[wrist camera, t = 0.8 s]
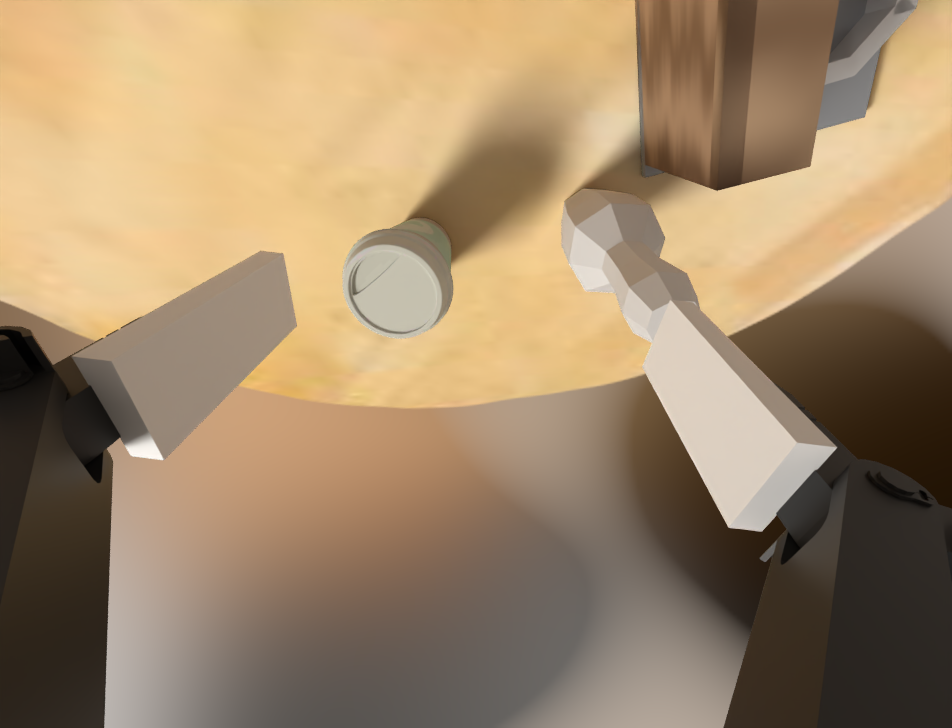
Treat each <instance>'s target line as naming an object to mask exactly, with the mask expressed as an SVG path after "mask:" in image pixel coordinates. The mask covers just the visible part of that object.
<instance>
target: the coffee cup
mask: <svg viewBox="0 0 952 728" xmlns="http://www.w3.org/2000/svg"><path fill="white" fill-rule="evenodd" d="M343 293H344V297H345V300H346V302H347V305H348V307H349V308H350V310H351V312H352V313H353V315H354V316H355V317H356V318H357V319H358V320H359V321H360V322H361V323H362V324H363V325H364V326H365V327H367V328H368V329H370V330H371V331H373V332H375V333H377V334H380V335H382V336H386V337H390V338H410V337H414V336H417V335H419V334H421V333H423V332H426V331H428V330H429V329H431V328H433V327H434V326H435V325H436V324H437V323H438V322H439V321H440V320H441V319H442V318H443V317H444V315H445V314H446V312H447V311H448V309H449V307H450V304H451V301H452V296H453V280H452V276H451V242H450V239H449V236H448V235H447V233H446V231H445V230H444V229H443V228H442V227H441V226H440V225H439V224H438V223H436V222H435V221H433V220H430V219H427V218H413V219H410V220H408V221H405V222H403V223H401V224H399V225H397V226H394V227H392V228H390V229H382V230H378V231H374V232H372V233H369V234H367V235H366V236H364V237H362V238H361V239H360V240H359V241H358V242H357V243H356V244H355V245H354V246H353V247H352V249H351V250H350V252H349V254H348V256H347V258H346V261H345V264H344V268H343Z"/></svg>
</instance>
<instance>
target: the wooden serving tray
mask: <svg viewBox="0 0 952 728" xmlns="http://www.w3.org/2000/svg"><path fill="white" fill-rule="evenodd" d="M637 2H638V3H639V5H637V4H638V3H637ZM838 5H839V0H638V1H637V0H635V9H636V35H637V36H638V29H637V28H638V25H637V24H638V20H639V19H638V16H639V14H640V16H639V17H640V20H639V21H640V22H639V23H640V24H639V25H640V26H639V27H640V32H639V33H640V34H641V36H640V37H641V38H640V37H639V38H640V39H641V41H640V42H641V43H639V42H638V37H637V43H639V44H641V46H640V47H641V50H639V51H641V52H640V53H641V54H640V55H638V54H639V51H638V48H639V47H638V46H639V45H638V44H637V60H638V56H641V61H642V63H641V64H642V69H641V66H640V67H639V65H638V68H640V69H641V70H642V78H641V80H642V83H641V84H642V87H641V88H642V90H643V94H642V96H643V118H644V147H645V165H647V166H650V167H652V168H655V169H658V170H661V171H664V172H666V173H669V174H672V175H675V176H678V177H681V178H683V179H686V180H689V181H692V182H695V183H697V184H700V185H703V186H706V187H709V188H711V189H714V190H717V191H718V190H722V189H725V188H729V187H733V186H737V185H741V184H745V183H749V182H752V181H756V180H760V179H764V178H768V177H772V176H776V175H779V174H783V173H787V172H791V171H795V170H799V169H802V168H806V167H810V165H811V159H812V154H813V148H814V142H815V137H816V131H817V125H818V119H819V114H820V108H821V102H822V96H823V91H824V85H825V79H826V73H827V68H828V62H829V56H830V50H831V45H832V39H833V33H834V28H835V22H836V16H837V10H838ZM639 7H640V8H639ZM637 8H638V9H640V10H639V14H638V10H637ZM640 39H639V40H640ZM638 62H639V61H638ZM641 70H640V71H641ZM640 73H641V72H640ZM638 74H639V71H638ZM638 78H639V75H638ZM638 86H639V79H638ZM639 98H640V97H639ZM639 106H640V105H639Z"/></svg>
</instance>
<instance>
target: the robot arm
mask: <svg viewBox="0 0 952 728" xmlns="http://www.w3.org/2000/svg"><path fill="white" fill-rule="evenodd" d="M296 326H297V323H296V318H295V313H294V308H293V302H292V297H291V292H290V286H289V281H288V276H287V271H286V265H285V260H284V255H283V254H282V253H274V252H266V251H260V252H258V253H256V254H254V255H252V256H251V257H249V258H247V259H245V260H244V261H242V262H240V263H238V264H236V265H235V266H233V267H231V268H229V269H227V270H226V271H224V272H222V273H220V274H218V275H217V276H215V277H213V278H211V279H209V280H208V281H206V282H204V283H202V284H200V285H199V286H197V287H195V288H193V289H191V290H190V291H188V292H186V293H184V294H182V295H181V296H179V297H177V298H175V299H173V300H172V301H170V302H168V303H166V304H164V305H163V306H161V307H159V308H157V309H155V310H154V311H152V312H150V313H148V314H146V315H145V316H142V317H139V318H137V319H136V320H134V321H132V322H130V323H128V324H126V325H125V326H123V327H121V329H120V330H116V331H114V332H112V333H110V334H108V335H107V336H106V337H105V338H101V339H99V340H98V341H96V342H94V343H92V344H90V345H89V346H87V347H85V348H84V349H81V350H80V351H78V352H76V353H74V354H72V355H70V356H69V357H67V358H65V359H63V360H62V361H60V362H58V363H56V364H55V365H52V363H51V361H50V360H49V358H48V357H47V355H46V354H45V352H44V350H43V349H42V347H41V346H40V344H39V343H38V341H37V340H36V338H35V337H34V335H33V333H32V332H31V331H30V330H29V329H26V328H23V327H15V326H14V327H13V326H1V327H0V728H104V715H105V685H106V656H107V624H108V596H109V594H108V593H109V566H110V535H111V534H110V533H111V506H112V505H111V504H112V476H113V460H112V457H111V455H110V453H109V452H108V450H107V447H109V446H110V445H111V444H113V443H114V442H115V441H116V440H117V439H119V438H121V440H122V442H123V443H124V445H125V447H126V448H127V450H128V452H129V453H130V455H131V456H134V457H142V458H150V459H159V460H165V459H166V458H167V456H168V455H170V454H171V452H173V451H174V449H175V448H176V447H177V446H179V444H180V443H181V442H182V441H183V440H184V439H185V438H186V437H187V436H188V435H189V434H190V433H191V432H192V431H193V430H194V429H195V428H196V427H197V426H198V425H199V424H200V423H201V422H202V421H203V420H204V419H205V418H206V417H207V416H208V415H209V414H210V413H211V412H212V411H213V410H214V409H215V408H216V407H217V406H218V405H219V404H220V403H221V402H222V401H223V400H224V399H225V398H226V397H227V396H228V395H229V394H230V393H231V392H232V391H233V390H234V389H235V388H236V387H237V386H238V385H239V384H240V383H241V382H242V381H243V380H244V379H245V378H246V377H247V376H248V375H249V374H250V373H251V372H252V371H253V370H254V369H255V368H256V367H257V366H258V365H259V364H260V363H261V362H262V361H263V360H264V359H265V358H266V357H267V356H268V355H269V354H270V353H271V352H272V350H273V349H274V348H275V347H276V346H277V345H278V344H279V343H280V342H281V341H282V340H283V339H284V338H285V337H286V336H287V335H288V334H289V333H290V332H291V331H292V330H293V329H294V328H295V327H296ZM642 367H643V369H644V371H645V373H646V375H647V377H648V379H649V380H650V382H651V384H652V386H653V388H654V389H655V392H656V393H657V395H658V397H659V399H660V401H661V403H662V404H663V406H664V408H665V410H666V412H667V414H668V416H669V418H670V419H671V421H672V423H673V425H674V427H675V429H676V430H677V432H678V434H679V436H680V438H681V440H682V442H683V444H684V445H685V447H686V449H687V451H688V453H689V455H690V457H691V458H692V460H693V462H694V464H695V466H696V468H697V469H698V471H699V473H700V475H701V477H702V479H703V481H704V483H705V484H706V486H707V488H708V490H709V492H710V494H711V495H712V497H713V499H714V501H715V503H716V505H717V506H718V508H719V510H720V512H721V514H722V516H723V518H724V520H725V521H726V523H727V525H728V527H729V528H737V529H746V530H754V531H763V529H764V528H765V527H766V526H767V525H768V524H769V523H770V522H771V521H772V520H773V518H774V517H775V516H776V515H778V517H779V518H780V520H781V522H782V523H783V524H784V526H785V527H786V529H787V530H786V531H785V532H784V533H783V534H782V535H781V536H780V537H779V538H778V539H777V540H776V541H775V542H774V543H773V545H771V547H770V548H769V549H768V550H767V551H766V552H765V553H764V554H763V555H762V556H761V558H760V559H761V560H763V561H764V562H766V561H767V560H768V558H770V557H772V561H771V564H770V568H769V571H768V575H767V578H766V582H765V585H764V589H763V592H762V596H761V599H760V603H759V606H758V610H757V613H756V617H755V620H754V623H753V627H752V631H751V634H750V637H749V641H748V645H747V648H746V651H745V655H744V658H743V662H742V665H741V669H740V672H739V676H738V679H737V683H736V686H735V690H734V693H733V696H732V700H731V704H730V707H729V710H728V714H727V717H726V721H725V725H724V728H952V509H950V508H947V507H944V506H941V505H938V503H937V501H936V499H935V498H934V497H933V496H932V495H931V494H930V493H929V492H928V491H927V490H926V489H925V488H924V487H923V486H921V485H920V484H918V483H917V482H915V481H914V480H913V479H911V478H910V477H908V476H907V475H905V474H903V473H901V472H899V471H897V470H895V469H893V468H891V467H888V466H886V465H883V464H880V463H878V462H874V461H869V460H864V459H861V460H858V459H857V458H856V457H855V456H854V455H853V454H852V453H851V452H850V451H848V449H847V448H846V447H845V446H844V445H843V444H842V443H840V442H839V441H838V440H837V439H836V438H835V437H834V436H833V435H832V434H831V433H830V432H829V431H828V430H827V429H826V428H825V427H824V426H823V425H822V424H821V423H820V422H816V418H815V417H814V416H813V415H812V414H811V413H810V412H809V411H808V410H805V407H804V406H803V405H802V404H801V403H800V402H799V401H798V400H797V399H796V398H795V397H794V396H793V395H792V394H790V393H789V392H787V391H786V390H784V389H783V388H781V387H779V386H778V385H776V384H775V383H773V382H772V381H771V380H770V379H769V378H768V377H767V376H765V374H764V373H763V372H762V371H761V370H760V369H758V367H757V366H756V365H755V364H754V363H753V362H752V361H751V360H750V359H749V358H748V357H747V356H746V355H745V354H744V353H743V352H742V351H741V350H740V349H739V348H738V347H737V346H736V345H735V344H734V343H733V342H732V341H731V340H730V339H729V338H728V337H727V336H726V335H725V334H724V333H723V332H722V331H721V330H720V329H719V328H718V327H717V326H716V325H715V324H714V323H713V322H712V321H711V320H710V319H709V318H708V317H707V316H706V315H705V314H704V313H703V312H702V311H701V310H700V309H699V308H698V307H697V306H696V305H695V304H694V303H693V302H687V301H678V300H670V301H669V304H668V306H667V309H666V311H665V313H664V316H663V318H662V321H661V323H660V325H659V328H658V330H657V333H656V335H655V337H654V340H653V342H652V344H651V347H650V349H649V352H648V354H647V356H646V359H645V361H644V364H643V366H642Z"/></svg>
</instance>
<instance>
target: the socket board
mask: <svg viewBox="0 0 952 728" xmlns="http://www.w3.org/2000/svg"><path fill="white" fill-rule="evenodd" d="M637 1H638V0H637ZM637 3H638V2H637ZM917 3H918V0H839V5H838V10H837V16H836V22H835V28H834V33H833V39H832V45H831V50H830V56H829V62H828V68H827V73H826V79H825V85H824V91H823V96H822V102H821V108H820V114H819V119H818V125H817V130H820V129H823V128H827V127H831V126H834V125H838V124H842V123H845V122H849V121H852V120H856V119H860V118H863V117H865V114H866V110H867V106H868V101H869V97H870V93H871V88H872V84H873V80H874V75H875V71H876V66H877V62H878V58H879V53H880V49H881V46H882V45H883V44H884V43H885V42H886V41H887V40H888V38H889V37H890V36H891V35H892V34H893V33H894V32H895V31H896V30H897V29H898V28H899V26H900V25H901V24H902V23H903V22H904V21H905V20H906V19H907V18H908V17H909V15H910V14H911V13H912V12H913V11H914V10H915V9H916V7H917ZM637 5H639V3H638V4H637ZM639 8H640V7H639ZM637 10H638V14H639V10H640V9H638V8H637ZM639 16H640V14H639ZM639 16H638V19H639V20H640V17H639ZM639 20H638V24H637V25H638V28H637V29H638V36H637V37H638V42H639V43H641V42H640V41H641V39H640V38H641V37H640V36H641V34H640V33H639V32H640V27H639V26H640V25H639V24H640V23H639V22H640V21H639ZM639 37H640V38H639ZM639 39H640V40H639ZM639 43H637V44H638V45H639V46H638V47H639V48H638V51H639V50H641V47H640V46H641V44H639ZM640 52H641V51H639V54H638V55H640V54H641V53H640ZM638 61H639V62H638V65H639V67H640V66H641V69H642V64H641V63H642V61H641V56H638ZM641 69H640V68H638V71H639V74H638V75H639V78H638V79H639V97H640V98H639V105H640V106H639V111H640V137H641V162H642V176H643V177H645V178H646V177H650V176H653V175H657V174H660V173H664V171H661V170H658V169H655V168H652V167H650V166H647V165H645V147H644V118H643V96H642V94H643V90H642V88H641V87H642V84H641V83H642V80H641V78H642V70H641ZM640 70H641V71H640ZM640 72H641V73H640Z"/></svg>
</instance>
